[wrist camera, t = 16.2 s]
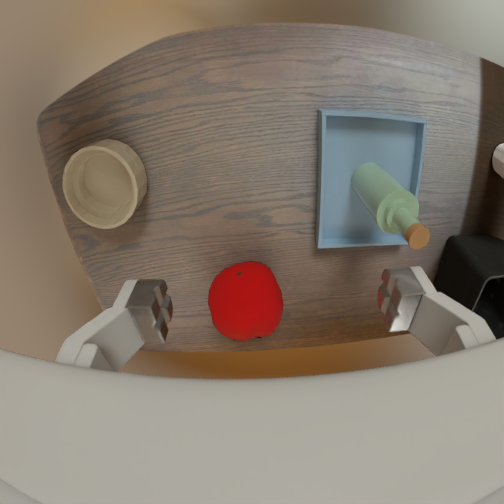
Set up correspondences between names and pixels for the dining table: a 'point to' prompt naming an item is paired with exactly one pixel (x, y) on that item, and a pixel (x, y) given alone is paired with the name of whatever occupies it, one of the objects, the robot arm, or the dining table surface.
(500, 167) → the cup
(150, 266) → the dining table surface
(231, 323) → the tomato
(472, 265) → the flower pot
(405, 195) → the bottle
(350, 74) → the dining table surface
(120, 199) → the bowl
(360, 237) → the tray
